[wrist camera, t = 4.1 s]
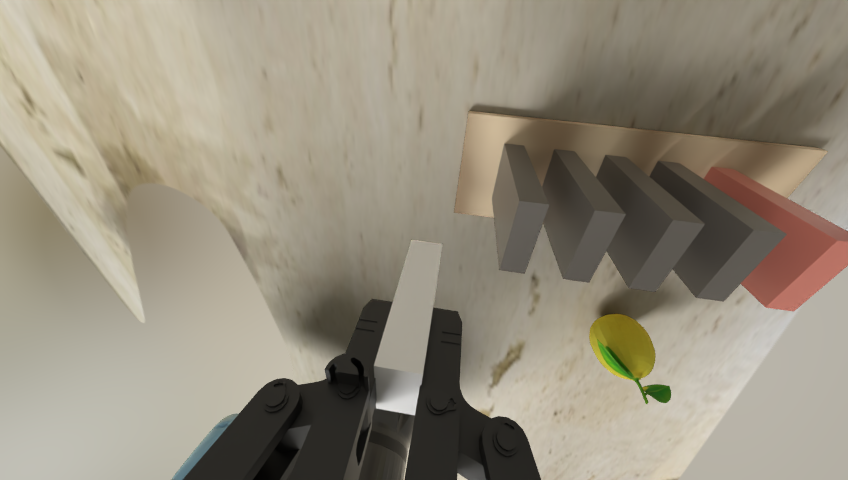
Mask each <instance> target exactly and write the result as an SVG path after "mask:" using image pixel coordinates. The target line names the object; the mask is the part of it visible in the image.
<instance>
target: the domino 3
mask: <svg viewBox="0 0 848 480" xmlns="http://www.w3.org/2000/svg"><path fill="white" fill-rule="evenodd" d="M596 178H597V179H598V180H599V182H600V183H601V184H602V185H603V187H604V188H605V189H606V190H607V192H608V193H609V194H610V195H611V196H612V198H613V199H614V200H615V201H616V203H617V204H618V205H619V206H620V208H621V209H622V210H623V211H624V212H625V214H626V215H625V217H624V219H623V221H622V222H621V224H620V226H619V228H618V230H617V232H616V234H615V235H614V237H613V239H612V241H611V243H610V245H609V247H608V248H607V250H606V251H607V253H608V254H609V256H610V258H611V259H612V261H613V263H614V264H615V266H616V268H617V269H618V271H619V273H620V274H621V276H622V278H623V279H624V281H625V283H626V285H627V286H628V288H631V289H638V290H646V291H653V292H656V290H657V289H658V288H659V286H660V285H661V284H662V282H663V281H664V279H665V278H666V277H667V275H668V274H669V273H670V271H671V270H672V269H673V267H674V266H675V264H676V263H677V262H678V260H679V259H680V258H681V256H682V255H683V254H684V252H685V251H686V249H687V248H688V247H689V245H690V244H691V243H692V241H693V240H694V239H695V237H696V236H697V235H698V233H699V232H700V230H701V229H702V228H703V226H704V225H705V224H704V223H703V222H702V221H701V220H700V219H699V218H697V217H696V216H695V215H694V214H693V213H692V212H690V211H689V210H688V209H687V208H686V207H684V206H683V205H682V204H681V203H680V202H679V201H677V200H676V199H675V198H674V197H673V196H672V195H670V194H669V193H668V192H667V191H666V190H665V189H663V188H662V187H661V186H660V185H659V184H657V183H656V182H655V181H654V180H653V179H652V178H650V177H649V176H648V175H647V174H646V173H645V172H643V171H642V170H641V169H640V168H639V167H637V166H636V165H635V164H634V163H633V162H632V161H630V160H629V159H628V158H627V157H621V156H613V155H605V157H604V159H603V162H602V164H601V166H600V169H599V171H598V173H597V176H596Z"/></svg>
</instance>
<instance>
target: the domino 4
mask: <svg viewBox="0 0 848 480" xmlns="http://www.w3.org/2000/svg"><path fill="white" fill-rule="evenodd" d="M649 177H650V178H652V179H653V180H654V181H655V182H656V183H657V184H659V185H660V186H661V187H662V188H663V189H665V190H666V191H667V192H668V193H669V194H670V195H672V196H673V197H674V198H675V199H676V200H677V201H679V202H680V203H681V204H682V205H683V206H684V207H686V208H687V209H688V210H689V211H690V212H692V213H693V214H694V215H695V216H696V217H697V218H699V219H700V220H701V221H702V222H703V223H704V224H705V225H704V226H703V228H702V229H701V230H700V232H699V233H698V235H697V236H696V237H695V239H694V240H693V241H692V243H691V244H690V245H689V247H688V248H687V249H686V251H685V252H684V254H683V255H682V256H681V258H680V259H679V260H678V262H677V263H676V264H675V266H674V267H673V270H674V271H675V273H676V274H677V275H678V276H679V277H680V279H681V280H682V281H683V282H684V284H685V285H686V286H687V287H688V288H689V290H690V291H691V292H692V293H693V294H694V296H695V297H696V298H702V299H710V300H717V301H724V300H725V299H726V298H727V297H728V296H729V295H730V294H731V293H732V292H733V291H734V290H735V289H736V288H737V287H738V286H739V285H740V284H741V283H742V281H743V280H744V279H745V278H746V277H747V276H748V275H749V274H750V273H751V272H752V271H753V270H754V269H755V268H756V267H757V266H758V265H759V264H760V262H761V261H762V260H763V259H764V258H765V257H766V256H767V255H768V254H769V253H770V252H771V251H772V250H773V249H774V248H775V247H776V246H777V244H778V243H779V242H780V241H781V240H782V239H783V238H784V237H785V236H786V235H787V234H786V233H784V232H783V231H781V230H780V229H778V228H777V227H775V226H774V225H772V224H771V223H769V222H768V221H766V220H765V219H763V218H762V217H760V216H759V215H757V214H756V213H754V212H753V211H751V210H750V209H748V208H747V207H745V206H744V205H742V204H741V203H739V202H738V201H736V200H735V199H733V198H731V197H730V196H728V195H727V194H725V193H724V192H722V191H721V190H719V189H718V188H716V187H715V186H713V185H712V184H710V183H709V182H707V181H706V180H704V179H703V178H701V177H700V176H698V175H697V174H695V173H694V172H692V171H691V170H689V169H688V168H686V167H685V166H683V165H682V164H680V163H675V162H666V161H657V163H656V165H655V167H654V169H653V171H652V172H651V174H650V176H649Z"/></svg>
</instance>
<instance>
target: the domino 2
mask: <svg viewBox="0 0 848 480" xmlns="http://www.w3.org/2000/svg"><path fill="white" fill-rule="evenodd" d="M542 189H543V191H544V193H545V196H546V198H547V200H548V203H549V207H548V210H547V213H546V215H545V218H544V221H543V224H544V227H545V229H546V232H547V235H548V238H549V241H550V243H551V246H552V249H553V252H554V255H555V257H556V260H557V263H558V266H559V269H560V272H561V274H562V277H563V279H567V280H574V281H582V282H590V280H591V278H592V276H593V274H594V273H595V271H596V269H597V267H598V265H599V263H600V261H601V260H602V258H603V256H604V254H605V252H606V250H607V248H608V247H609V245H610V243H611V241H612V239H613V237H614V235H615V234H616V232H617V230H618V228H619V226H620V224H621V222H622V221H623V219H624V217H625V215H626V214H625V212H624V211H623V210H622V209H621V208H620V206H619V205H618V204H617V203H616V201H615V200H614V199H613V198H612V196H611V195H610V194H609V193H608V192H607V190H606V189H605V188H604V187H603V185H602V184H601V183H600V182H599V180H598V179H597V178H596V177H595V176H594V174H593V173H592V172H591V171H590V169H589V168H588V167H587V166H586V165H585V163H584V162H583V161H582V160H581V158H580V157H579V156H578V155H577V153H576V152H575V151H568V150H559V149H554V151H553V155H552V158H551V161H550V164H549V167H548V170H547V173H546V176H545V179H544V182H543V185H542Z"/></svg>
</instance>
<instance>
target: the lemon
mask: <svg viewBox="0 0 848 480" xmlns="http://www.w3.org/2000/svg"><path fill="white" fill-rule="evenodd" d="M589 338H590V343H591V346H592V349H593V351H594V353H595V355H596V357H597V358H598V360H599V361H600V363H601V364H602V365H603V366H604V367H605V368H606V369H607V370H609V371H610V372H611V373H613V374H614V375H616V376H618V377H621V378H624V379H629V380H633V381H635V382H636V383H637V385H638V386H639V388H640V391H641V393H642V395H643V398H644V400H645V403H646V404H647V403H648V400H647V398H646V395H647V394H648V395H650V396H652V397H653V398H655V399H656V400H657V401H659V402H662V403H667V402H668V401H669V400H670V398H671V390H670V387H669V386H665V385H657V384H656V385H648V386H645V387H642V386H641V384H640V382H639V380H640V379H641V378H643V377H645V376H647V375H648V374H649V373H650V372H651V371H652V369H653V366H654V363H655V350H654V347H653V344H652V341H651V339H650V337H649V335H648V333H647V332H646V330H645V329H644V328H643V327H642V326H641V325H640V324H639V323H638V322H637V321H635V320H634V319H632V318H630V317H628V316H626V315H622V314H610V315H605V316H603V317H600V318H598V319H597V320H596V321H594V323H593V324H592V326H591V328H590V335H589ZM644 391H645V392H646V393H644Z"/></svg>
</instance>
